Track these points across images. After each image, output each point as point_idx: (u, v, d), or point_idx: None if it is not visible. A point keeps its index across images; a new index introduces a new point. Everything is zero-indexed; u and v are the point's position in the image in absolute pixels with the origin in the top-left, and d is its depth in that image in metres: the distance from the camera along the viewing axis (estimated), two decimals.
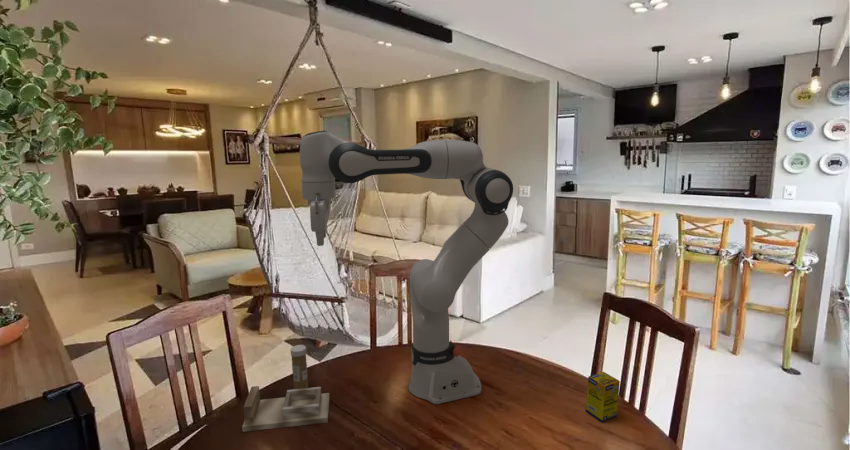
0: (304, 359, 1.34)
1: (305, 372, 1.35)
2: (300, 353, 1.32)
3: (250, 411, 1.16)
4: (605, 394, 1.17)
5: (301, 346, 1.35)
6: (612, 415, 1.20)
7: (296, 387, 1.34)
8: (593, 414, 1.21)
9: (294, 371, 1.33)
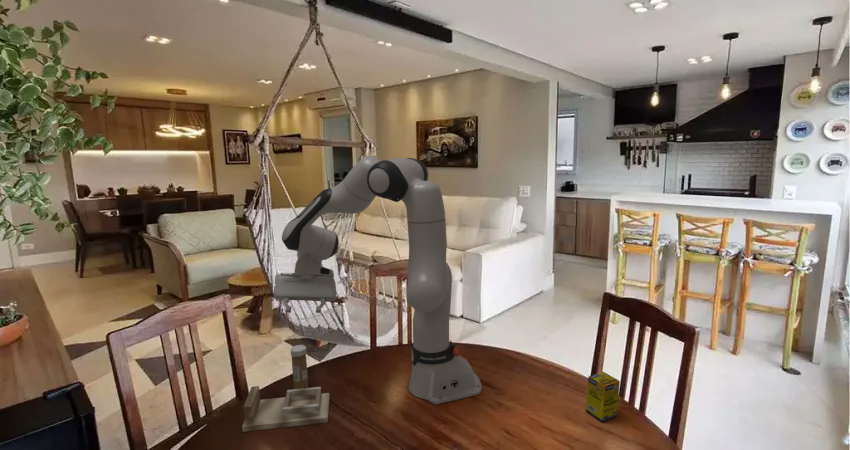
0: (304, 359, 1.34)
1: (305, 372, 1.35)
2: (300, 353, 1.32)
3: (250, 411, 1.16)
4: (605, 394, 1.17)
5: (301, 346, 1.35)
6: (612, 415, 1.20)
7: (296, 387, 1.34)
8: (593, 414, 1.21)
9: (294, 371, 1.33)
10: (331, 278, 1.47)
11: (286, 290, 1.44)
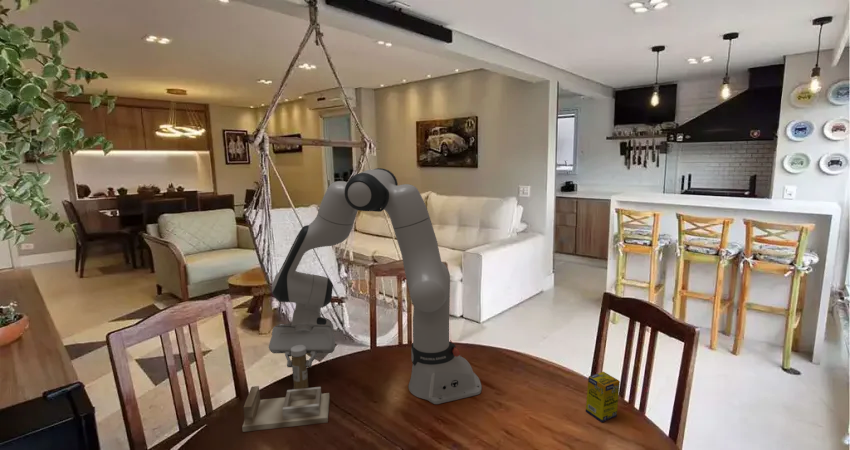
0: (304, 359, 1.34)
1: (305, 372, 1.35)
2: (300, 353, 1.32)
3: (250, 411, 1.16)
4: (605, 394, 1.17)
5: (301, 346, 1.35)
6: (612, 415, 1.20)
7: (296, 387, 1.34)
8: (593, 414, 1.21)
9: (294, 371, 1.33)
10: (328, 328, 1.39)
11: (281, 343, 1.37)
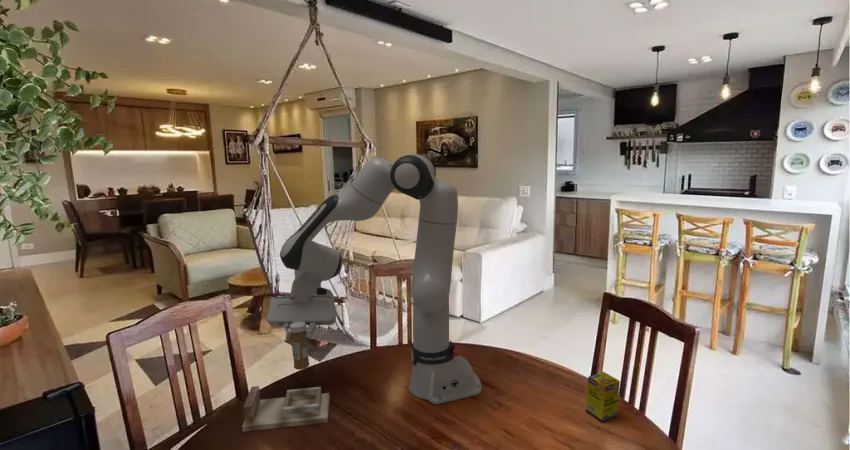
0: (304, 336, 1.27)
1: (305, 349, 1.28)
2: (299, 329, 1.26)
3: (250, 411, 1.16)
4: (605, 394, 1.17)
5: (300, 322, 1.28)
6: (612, 415, 1.20)
7: (296, 365, 1.28)
8: (593, 414, 1.21)
9: (294, 348, 1.27)
10: (329, 299, 1.32)
11: (280, 315, 1.30)
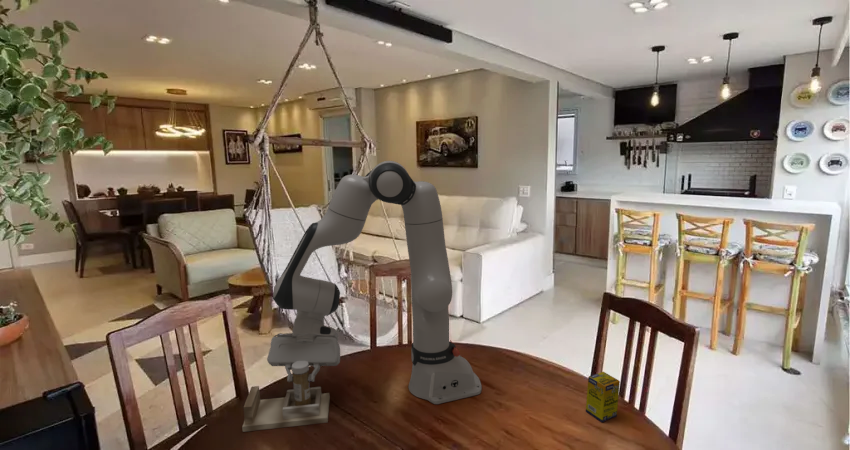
0: (307, 376, 1.21)
1: (308, 391, 1.22)
2: (302, 370, 1.20)
3: (250, 411, 1.16)
4: (605, 394, 1.17)
5: (303, 362, 1.22)
6: (612, 415, 1.20)
7: None
8: (593, 414, 1.21)
9: (296, 390, 1.21)
10: (333, 339, 1.26)
11: (281, 355, 1.24)
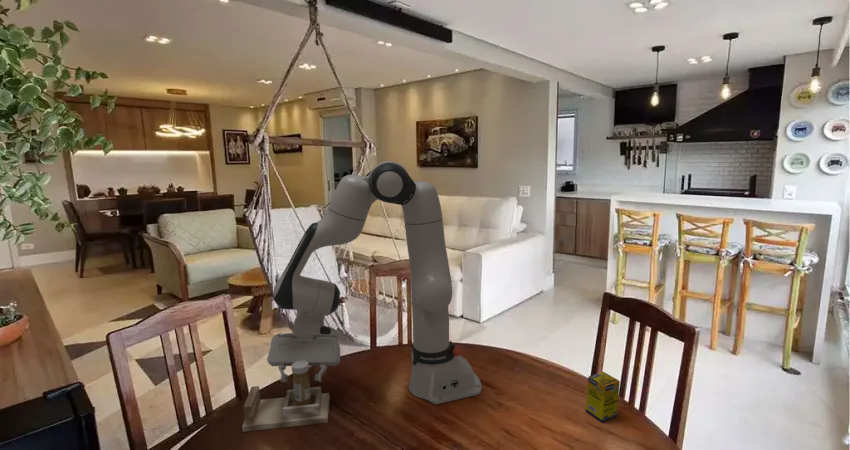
0: (307, 376, 1.21)
1: (308, 391, 1.22)
2: (302, 370, 1.20)
3: (250, 411, 1.16)
4: (605, 394, 1.17)
5: (303, 362, 1.22)
6: (612, 415, 1.20)
7: None
8: (593, 414, 1.21)
9: (296, 390, 1.21)
10: (333, 339, 1.26)
11: (281, 355, 1.24)
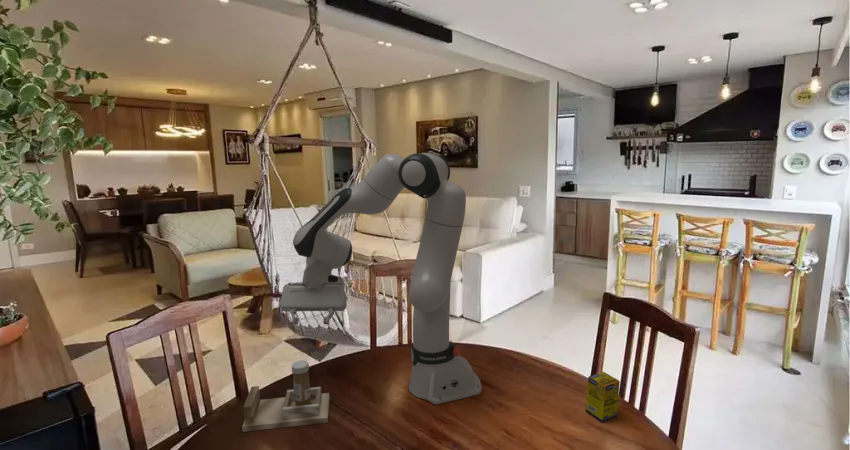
0: (307, 376, 1.21)
1: (308, 391, 1.22)
2: (302, 370, 1.20)
3: (250, 411, 1.16)
4: (605, 394, 1.17)
5: (303, 362, 1.22)
6: (612, 415, 1.20)
7: None
8: (593, 414, 1.21)
9: (295, 390, 1.21)
10: (340, 286, 1.36)
11: (292, 301, 1.34)
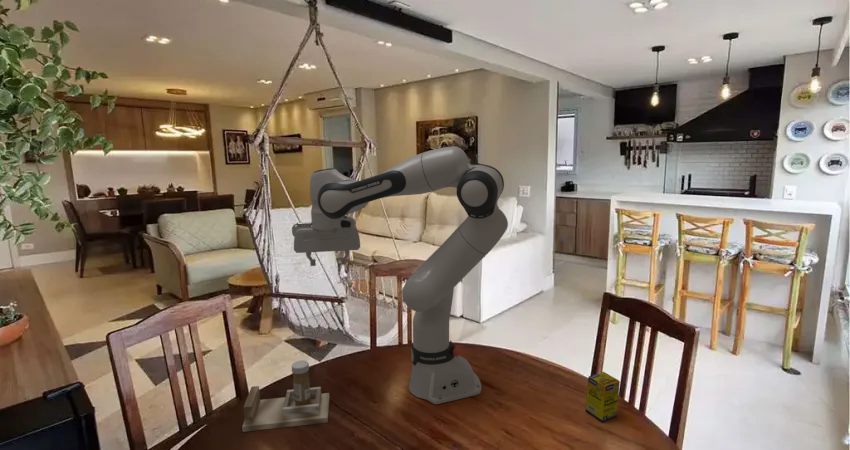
0: (307, 376, 1.21)
1: (308, 391, 1.22)
2: (302, 370, 1.20)
3: (250, 411, 1.16)
4: (605, 394, 1.17)
5: (303, 362, 1.22)
6: (612, 415, 1.20)
7: None
8: (593, 414, 1.21)
9: (296, 390, 1.21)
10: (353, 230, 1.35)
11: (307, 246, 1.34)
